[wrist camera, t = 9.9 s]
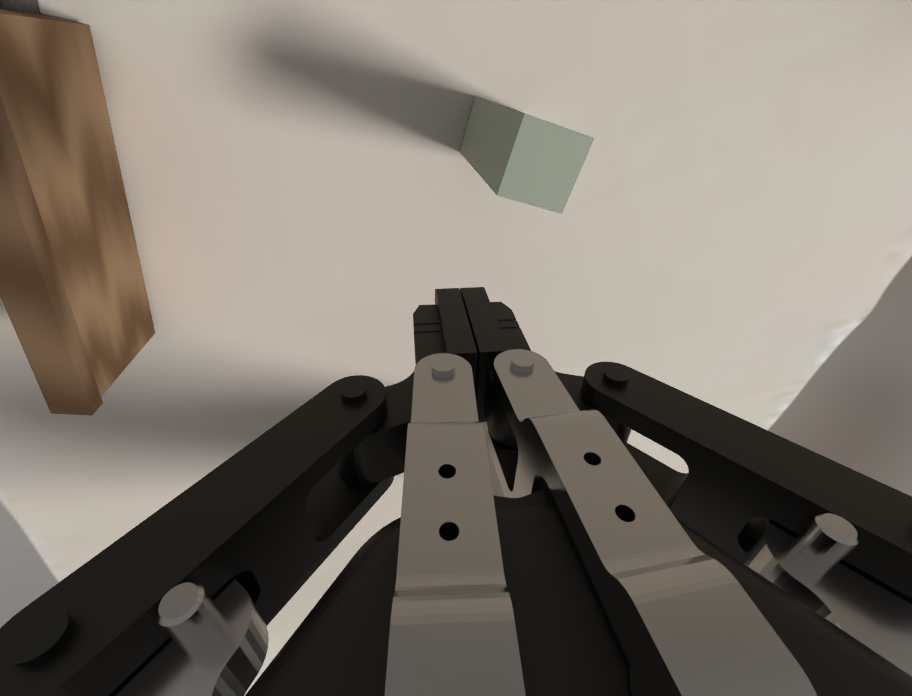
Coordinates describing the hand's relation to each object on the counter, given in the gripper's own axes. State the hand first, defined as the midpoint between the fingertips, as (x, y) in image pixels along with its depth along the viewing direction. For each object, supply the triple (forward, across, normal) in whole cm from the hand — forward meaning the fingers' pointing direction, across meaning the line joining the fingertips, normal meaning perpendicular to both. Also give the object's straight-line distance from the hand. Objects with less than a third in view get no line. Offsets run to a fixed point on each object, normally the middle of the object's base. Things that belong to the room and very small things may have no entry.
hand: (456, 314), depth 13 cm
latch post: (+16, -4, -3) cm, 17 cm away
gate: (+15, +18, 0) cm, 23 cm away
